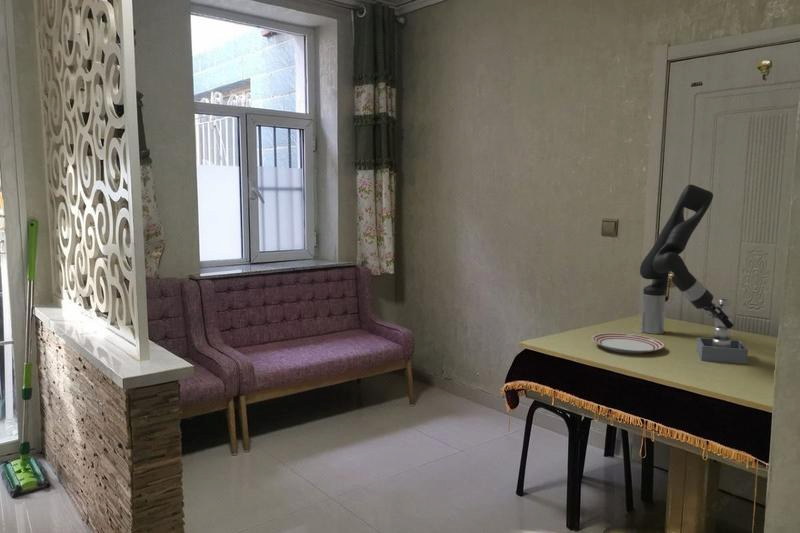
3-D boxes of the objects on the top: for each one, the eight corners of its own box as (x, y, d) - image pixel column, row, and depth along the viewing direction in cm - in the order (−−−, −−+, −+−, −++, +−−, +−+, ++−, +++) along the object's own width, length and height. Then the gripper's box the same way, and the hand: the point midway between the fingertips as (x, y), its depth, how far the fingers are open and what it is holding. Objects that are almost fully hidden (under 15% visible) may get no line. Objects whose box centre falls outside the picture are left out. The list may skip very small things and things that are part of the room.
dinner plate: (673, 347, 244) (674, 339, 244) (648, 361, 224) (649, 352, 224) (608, 337, 263) (608, 329, 262) (579, 348, 243) (580, 340, 242)
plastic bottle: (728, 350, 231) (732, 298, 229) (732, 354, 224) (735, 301, 222) (710, 348, 233) (713, 297, 231) (712, 352, 226) (716, 300, 224)
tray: (701, 360, 224) (702, 346, 224) (696, 350, 238) (697, 337, 238) (747, 364, 219) (748, 349, 219) (739, 354, 233) (740, 340, 233)
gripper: (712, 290, 219) (744, 322, 220) (696, 284, 233) (726, 314, 234) (696, 304, 220) (727, 336, 221) (681, 297, 235) (711, 327, 235)
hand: (727, 325), depth 227 cm, fingers closed on plastic bottle, 6 cm apart
